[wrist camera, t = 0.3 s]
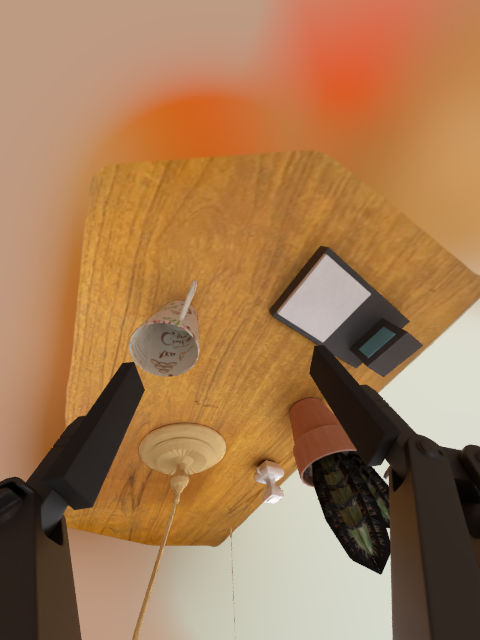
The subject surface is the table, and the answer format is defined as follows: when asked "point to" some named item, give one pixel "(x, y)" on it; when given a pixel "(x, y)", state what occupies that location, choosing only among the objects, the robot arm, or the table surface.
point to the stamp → (270, 480)
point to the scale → (345, 315)
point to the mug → (168, 339)
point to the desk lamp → (178, 468)
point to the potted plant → (342, 484)
